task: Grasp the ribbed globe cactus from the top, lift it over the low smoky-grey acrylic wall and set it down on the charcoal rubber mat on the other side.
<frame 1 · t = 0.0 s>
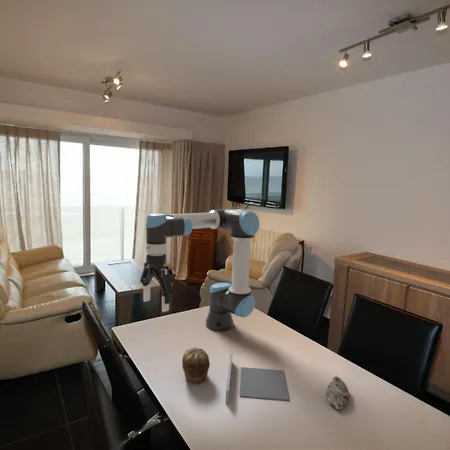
hand: (155, 305, 124), 28 cm above the table, tool pointing down, fingers open, 13 cm apart
rest mat: (263, 383, 122), on the table
mineral rock: (337, 399, 115), on the table
acrylic wall: (229, 380, 123), on the table
ribbed globe cactus: (195, 378, 124), on the table
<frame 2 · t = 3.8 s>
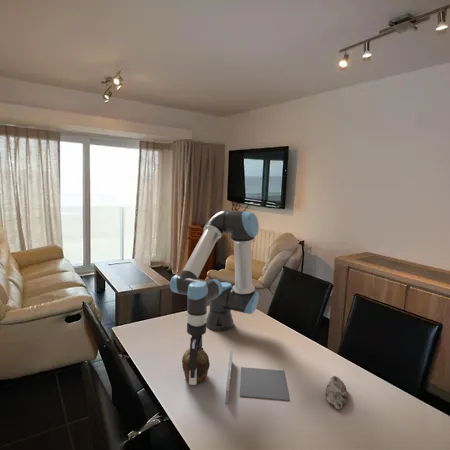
hand: (195, 374, 123), 2 cm above the table, tool pointing down, fingers closed on ribbed globe cactus, 11 cm apart
ribbed globe cactus: (195, 378, 124), on the table, touching gripper
everything else where it was.
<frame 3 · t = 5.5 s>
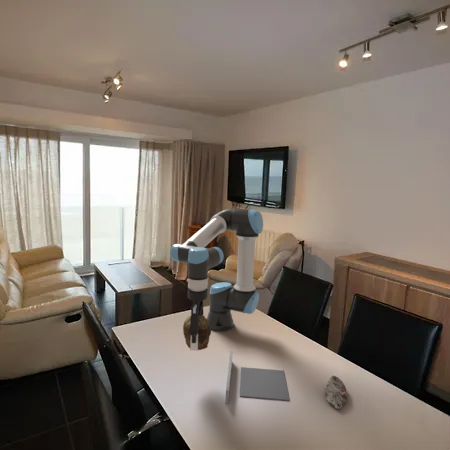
hand: (196, 341, 122), 15 cm above the table, tool pointing down, fingers closed on ribbed globe cactus, 11 cm apart
ribbed globe cactus: (196, 346, 122), point 14 cm above the table, touching gripper
everything else where it was.
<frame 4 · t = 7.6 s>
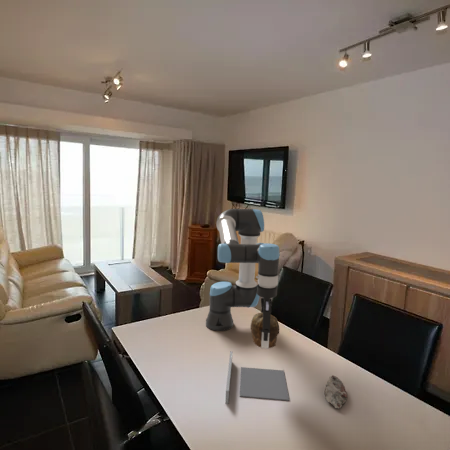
hand: (264, 339, 120), 18 cm above the table, tool pointing down, fingers closed on ribbed globe cactus, 11 cm apart
ribbed globe cactus: (263, 344, 120), point 16 cm above the table, touching gripper
everything else where it was.
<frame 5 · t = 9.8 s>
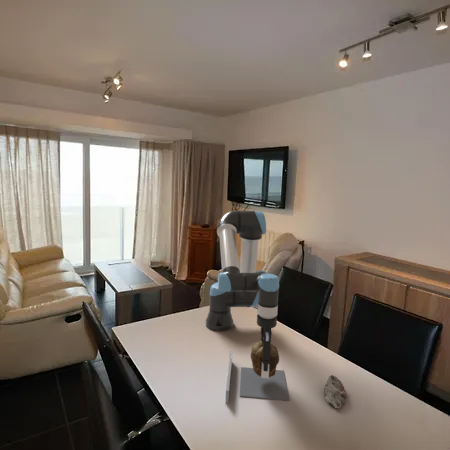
hand: (264, 368, 121), 6 cm above the table, tool pointing down, fingers closed on ribbed globe cactus, 11 cm apart
ribbed globe cactus: (263, 372, 121), point 5 cm above the table, touching gripper
when the fingers open (3 cm above the table, at t = 11.5 s): ribbed globe cactus drops 1 cm, resting on rest mat.
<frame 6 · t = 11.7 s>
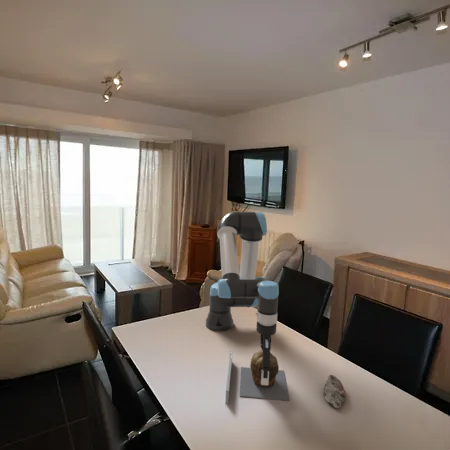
hand: (263, 373, 122), 4 cm above the table, tool pointing down, fingers open, 13 cm apart
ribbed globe cactus: (263, 382, 122), resting on rest mat
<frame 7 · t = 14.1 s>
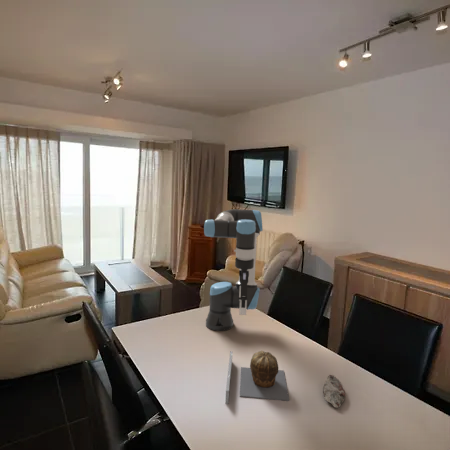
hand: (242, 307, 130), 26 cm above the table, tool pointing down, fingers open, 13 cm apart
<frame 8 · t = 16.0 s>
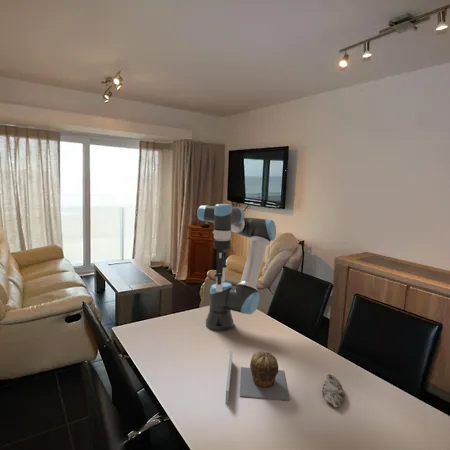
hand: (220, 286, 139), 32 cm above the table, tool pointing down, fingers open, 13 cm apart
at the end: ribbed globe cactus inside the target area on the rest mat (0.1 cm from its centre), point 0.2 cm above the rest mat's base; ribbed globe cactus tilted 0°; the gripper is holding nothing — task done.
